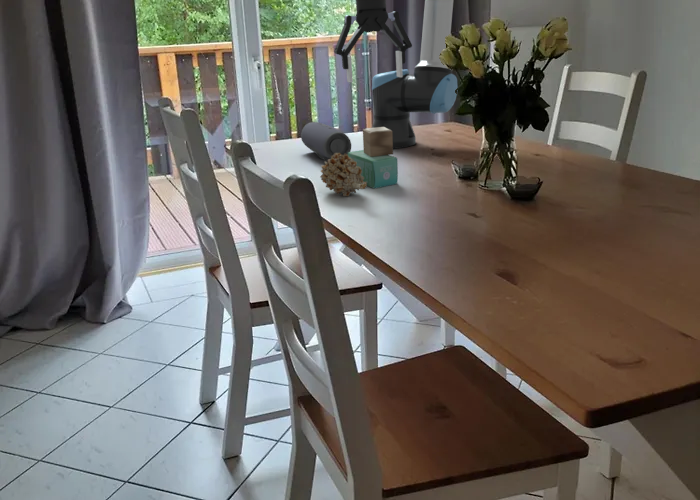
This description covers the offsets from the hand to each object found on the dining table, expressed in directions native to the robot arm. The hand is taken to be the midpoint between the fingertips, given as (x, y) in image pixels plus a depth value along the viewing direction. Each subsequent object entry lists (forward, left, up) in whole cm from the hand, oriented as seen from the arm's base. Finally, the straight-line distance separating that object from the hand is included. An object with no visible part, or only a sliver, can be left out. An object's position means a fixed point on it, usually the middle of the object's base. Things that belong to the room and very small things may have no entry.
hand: (374, 79), depth 183 cm
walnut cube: (+2, +8, -18) cm, 20 cm away
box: (+4, +8, -26) cm, 27 cm away
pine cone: (+13, +20, -25) cm, 35 cm away
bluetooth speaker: (+9, -27, -25) cm, 38 cm away
